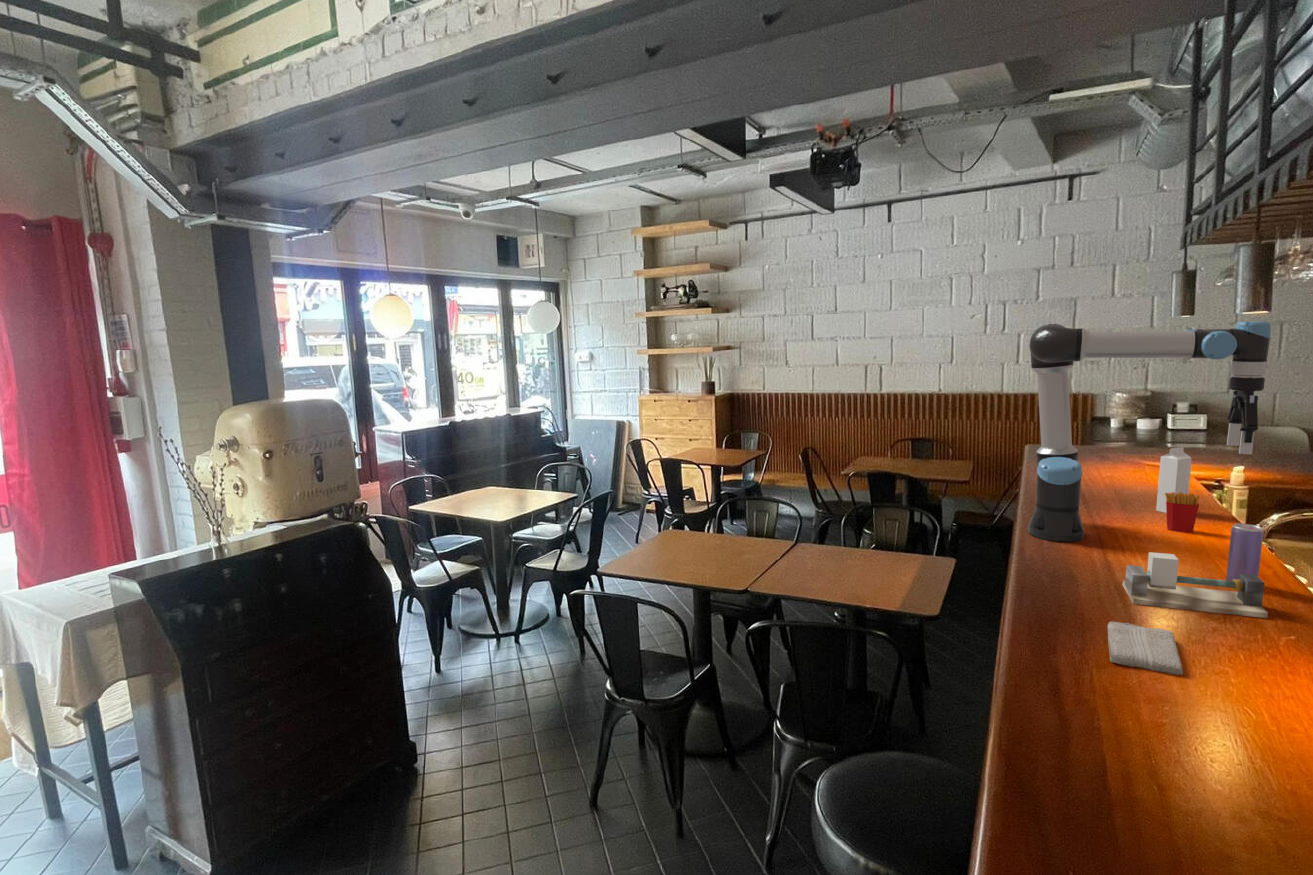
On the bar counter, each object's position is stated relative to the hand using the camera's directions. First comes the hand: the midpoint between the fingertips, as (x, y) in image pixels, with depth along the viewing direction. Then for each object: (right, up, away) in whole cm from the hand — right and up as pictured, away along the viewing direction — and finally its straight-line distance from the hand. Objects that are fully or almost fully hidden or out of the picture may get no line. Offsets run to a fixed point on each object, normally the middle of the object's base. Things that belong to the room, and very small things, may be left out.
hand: (1238, 449), depth 198 cm
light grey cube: (-48, -32, -34) cm, 66 cm away
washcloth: (-69, -41, -58) cm, 99 cm away
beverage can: (-23, -33, -28) cm, 49 cm away
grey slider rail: (-42, -35, -36) cm, 65 cm away
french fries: (-6, -26, +14) cm, 30 cm away
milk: (+5, -22, +33) cm, 40 cm away
